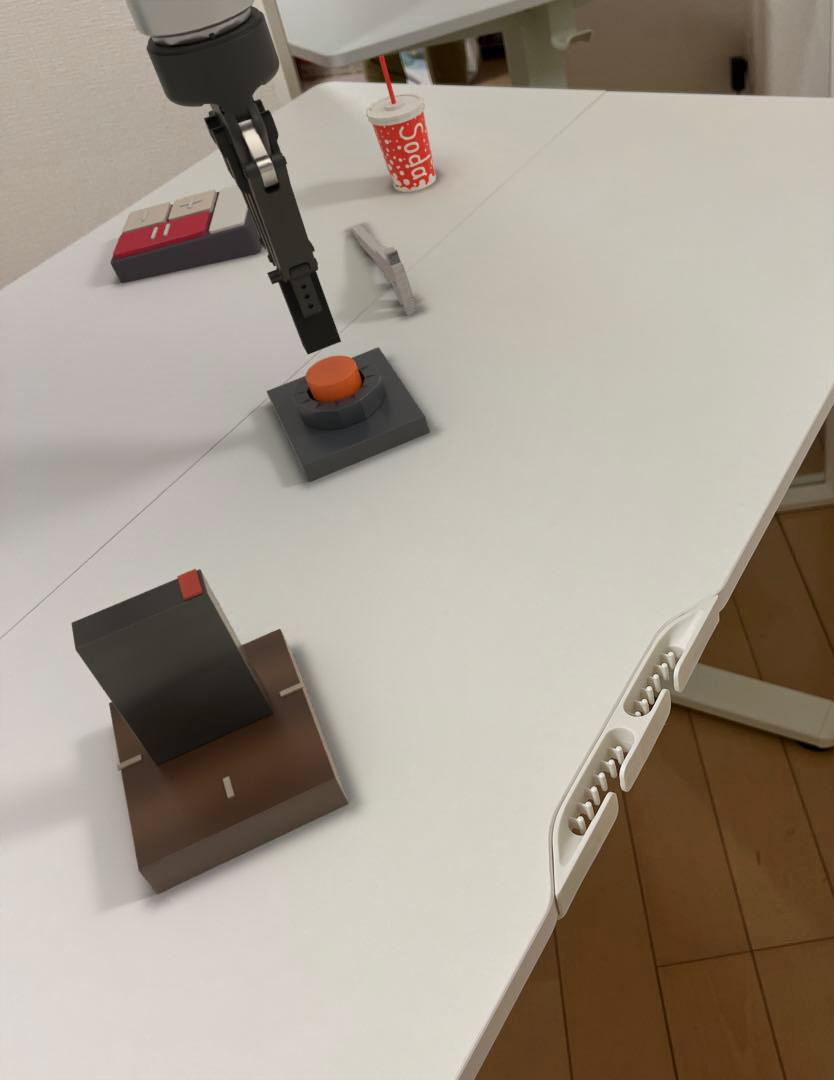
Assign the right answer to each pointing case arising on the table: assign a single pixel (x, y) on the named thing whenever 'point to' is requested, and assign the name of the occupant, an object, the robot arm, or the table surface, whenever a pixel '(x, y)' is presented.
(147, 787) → the panel
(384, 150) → the beverage cup
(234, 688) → the red-tabbed grey box
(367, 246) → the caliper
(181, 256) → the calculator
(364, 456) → the button block
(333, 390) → the button
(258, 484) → the table surface
